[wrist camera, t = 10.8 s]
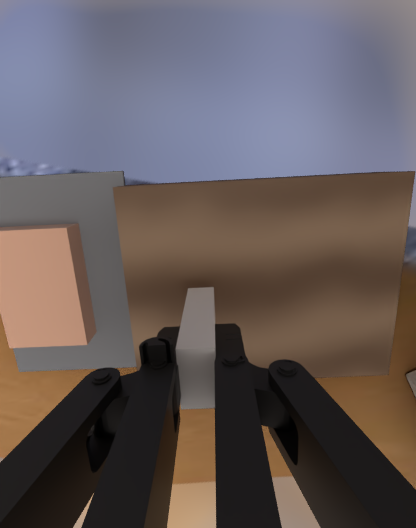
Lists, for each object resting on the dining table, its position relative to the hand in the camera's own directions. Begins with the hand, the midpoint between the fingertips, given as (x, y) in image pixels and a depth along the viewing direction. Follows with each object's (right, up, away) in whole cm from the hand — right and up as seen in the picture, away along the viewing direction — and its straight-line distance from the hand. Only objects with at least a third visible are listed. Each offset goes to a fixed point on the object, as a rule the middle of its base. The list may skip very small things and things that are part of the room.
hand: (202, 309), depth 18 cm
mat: (-11, +1, +6) cm, 13 cm away
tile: (-12, +1, +4) cm, 13 cm away
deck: (+4, +2, +6) cm, 8 cm away
